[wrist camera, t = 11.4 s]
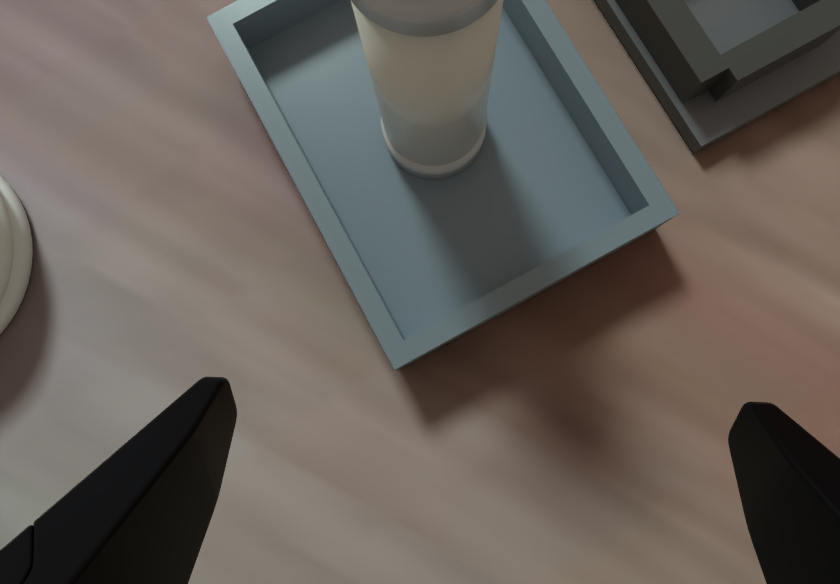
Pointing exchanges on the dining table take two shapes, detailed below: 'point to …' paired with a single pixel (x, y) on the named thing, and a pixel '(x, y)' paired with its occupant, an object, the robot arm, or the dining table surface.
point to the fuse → (431, 78)
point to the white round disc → (13, 253)
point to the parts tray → (455, 196)
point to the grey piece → (727, 56)
